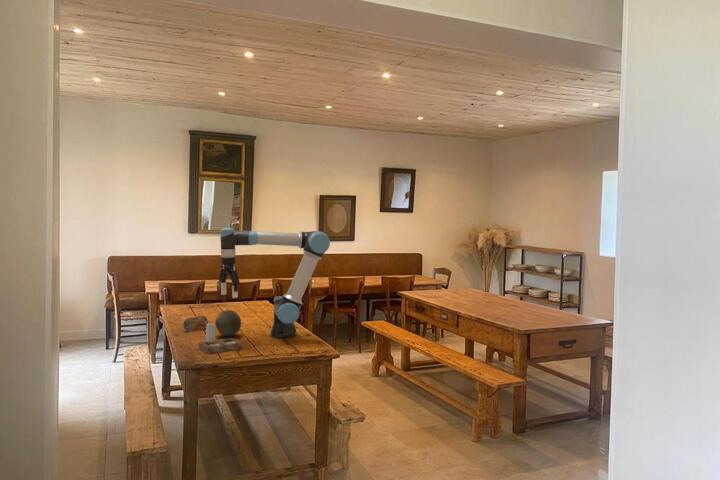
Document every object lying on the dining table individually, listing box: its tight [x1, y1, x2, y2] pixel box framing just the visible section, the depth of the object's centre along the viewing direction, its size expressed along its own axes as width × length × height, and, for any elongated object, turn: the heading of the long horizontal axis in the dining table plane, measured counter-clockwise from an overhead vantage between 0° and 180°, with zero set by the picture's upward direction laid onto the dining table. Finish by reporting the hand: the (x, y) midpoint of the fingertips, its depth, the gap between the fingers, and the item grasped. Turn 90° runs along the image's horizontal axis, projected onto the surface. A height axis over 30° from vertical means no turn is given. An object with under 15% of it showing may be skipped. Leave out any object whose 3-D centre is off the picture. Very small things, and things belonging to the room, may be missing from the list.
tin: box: [182, 315, 209, 333], centre depth 311 cm, size 15×3×8 cm, turn 137°
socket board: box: [198, 337, 243, 355], centre depth 271 cm, size 18×13×3 cm
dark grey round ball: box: [214, 309, 242, 337], centre depth 297 cm, size 14×14×15 cm
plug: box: [205, 322, 216, 345], centre depth 270 cm, size 3×3×13 cm
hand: (229, 296), depth 281 cm, fingers open, 13 cm apart
